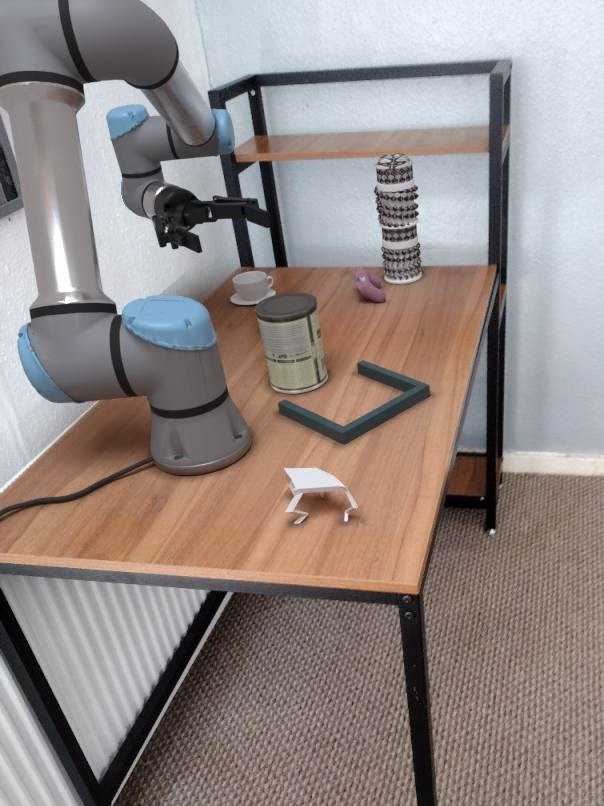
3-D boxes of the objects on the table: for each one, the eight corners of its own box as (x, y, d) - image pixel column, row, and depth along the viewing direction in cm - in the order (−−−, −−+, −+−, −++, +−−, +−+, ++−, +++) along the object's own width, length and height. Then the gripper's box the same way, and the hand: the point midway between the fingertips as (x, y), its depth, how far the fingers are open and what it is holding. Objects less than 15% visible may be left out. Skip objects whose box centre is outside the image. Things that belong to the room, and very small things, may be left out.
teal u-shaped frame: (279, 413, 129) (277, 402, 128) (364, 370, 139) (362, 359, 138) (344, 444, 119) (342, 433, 118) (430, 395, 129) (429, 384, 128)
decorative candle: (397, 287, 169) (387, 164, 155) (374, 277, 176) (362, 157, 161) (432, 276, 173) (425, 154, 158) (408, 266, 180) (399, 148, 165)
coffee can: (264, 375, 141) (249, 299, 133) (320, 362, 143) (308, 287, 135) (276, 399, 133) (261, 320, 125) (335, 386, 135) (323, 307, 127)
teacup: (236, 310, 168) (231, 289, 165) (226, 295, 175) (222, 275, 172) (281, 300, 170) (277, 278, 167) (269, 286, 178) (266, 265, 175)
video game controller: (365, 295, 172) (347, 268, 168) (382, 283, 171) (365, 256, 167) (369, 312, 164) (351, 284, 160) (388, 300, 163) (369, 272, 159)
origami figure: (267, 525, 104) (260, 494, 102) (291, 489, 111) (286, 459, 108) (352, 535, 101) (348, 504, 98) (372, 497, 107) (368, 467, 104)
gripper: (234, 208, 153) (297, 231, 140) (117, 248, 141) (174, 278, 128) (226, 167, 148) (290, 188, 135) (103, 206, 137) (161, 232, 123)
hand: (234, 231), depth 131 cm, fingers open, 13 cm apart
